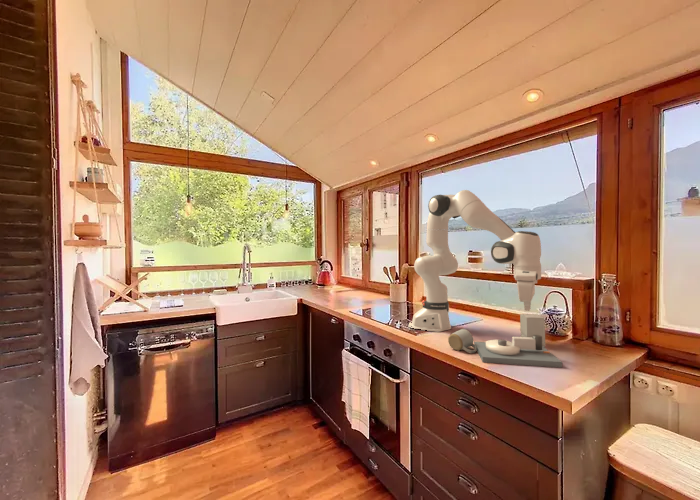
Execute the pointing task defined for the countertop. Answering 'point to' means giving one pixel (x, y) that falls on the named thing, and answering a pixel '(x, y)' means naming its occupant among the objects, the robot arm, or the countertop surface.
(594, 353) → the countertop surface
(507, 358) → the stand
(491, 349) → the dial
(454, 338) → the ceramic mug
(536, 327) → the supplement box
